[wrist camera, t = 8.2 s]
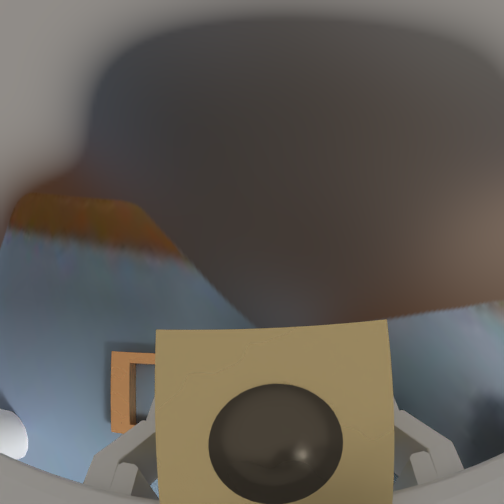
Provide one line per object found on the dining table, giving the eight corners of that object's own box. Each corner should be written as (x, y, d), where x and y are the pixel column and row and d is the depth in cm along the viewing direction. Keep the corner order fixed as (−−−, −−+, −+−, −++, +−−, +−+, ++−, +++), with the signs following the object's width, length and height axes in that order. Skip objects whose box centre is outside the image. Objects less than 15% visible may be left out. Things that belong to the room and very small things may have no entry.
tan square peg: (315, 360, 16) (389, 317, 6) (318, 443, 14) (392, 530, 4) (228, 364, 16) (153, 328, 6) (230, 446, 14) (161, 539, 4)
